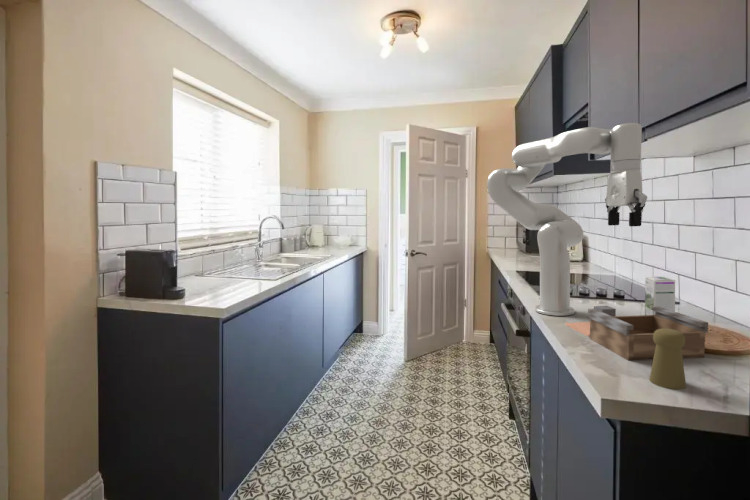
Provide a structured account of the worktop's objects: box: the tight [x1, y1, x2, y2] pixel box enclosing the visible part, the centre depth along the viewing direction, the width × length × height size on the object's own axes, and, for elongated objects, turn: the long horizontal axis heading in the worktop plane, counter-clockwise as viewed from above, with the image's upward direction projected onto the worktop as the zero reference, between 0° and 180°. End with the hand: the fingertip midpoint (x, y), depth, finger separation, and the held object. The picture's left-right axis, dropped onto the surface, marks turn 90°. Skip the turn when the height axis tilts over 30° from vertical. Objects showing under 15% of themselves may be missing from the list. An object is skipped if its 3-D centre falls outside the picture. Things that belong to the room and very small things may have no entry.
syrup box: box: [644, 276, 676, 315], centre depth 115 cm, size 6×6×14 cm
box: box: [587, 306, 709, 361], centre depth 98 cm, size 16×19×8 cm
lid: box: [564, 305, 616, 338], centre depth 115 cm, size 12×17×7 cm
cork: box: [649, 329, 687, 390], centre depth 78 cm, size 6×6×11 cm
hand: (623, 225), depth 115 cm, fingers open, 9 cm apart
